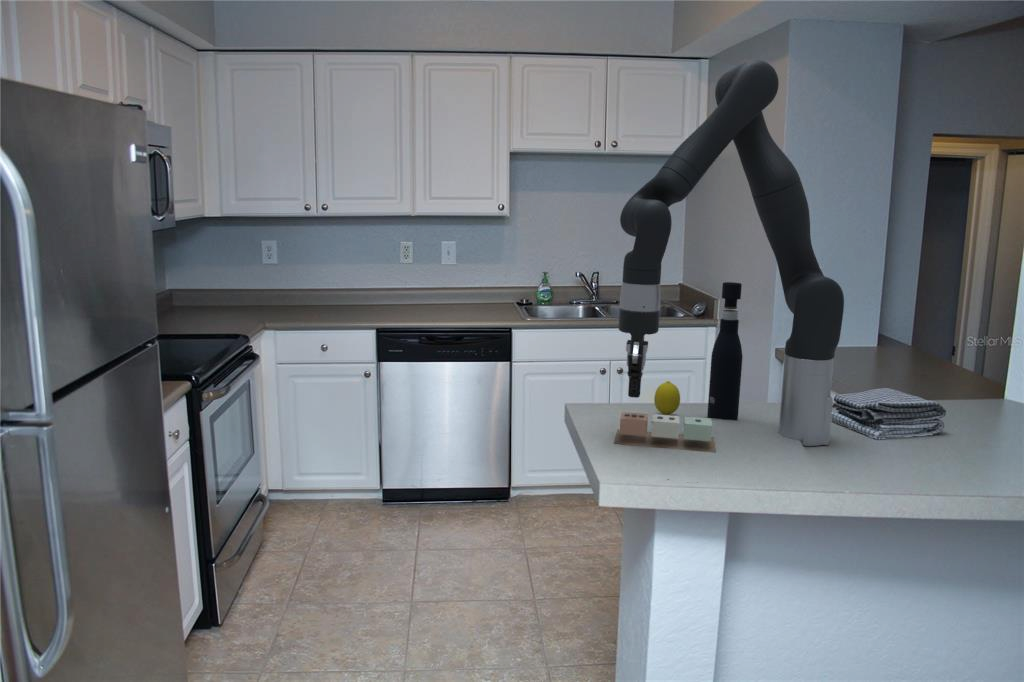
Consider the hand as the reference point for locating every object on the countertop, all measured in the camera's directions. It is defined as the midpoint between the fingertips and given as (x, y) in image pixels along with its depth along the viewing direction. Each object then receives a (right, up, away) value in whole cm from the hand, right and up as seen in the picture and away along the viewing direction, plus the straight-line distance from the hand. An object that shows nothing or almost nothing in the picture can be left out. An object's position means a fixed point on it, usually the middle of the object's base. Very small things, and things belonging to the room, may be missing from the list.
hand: (634, 396), depth 153 cm
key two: (+6, -7, 0) cm, 9 cm away
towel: (+56, -8, +18) cm, 60 cm away
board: (+6, -10, +1) cm, 12 cm away
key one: (+12, -7, -1) cm, 14 cm away
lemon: (+11, -6, +23) cm, 26 cm away
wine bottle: (+22, -7, +20) cm, 31 cm away
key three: (0, -7, +1) cm, 7 cm away
